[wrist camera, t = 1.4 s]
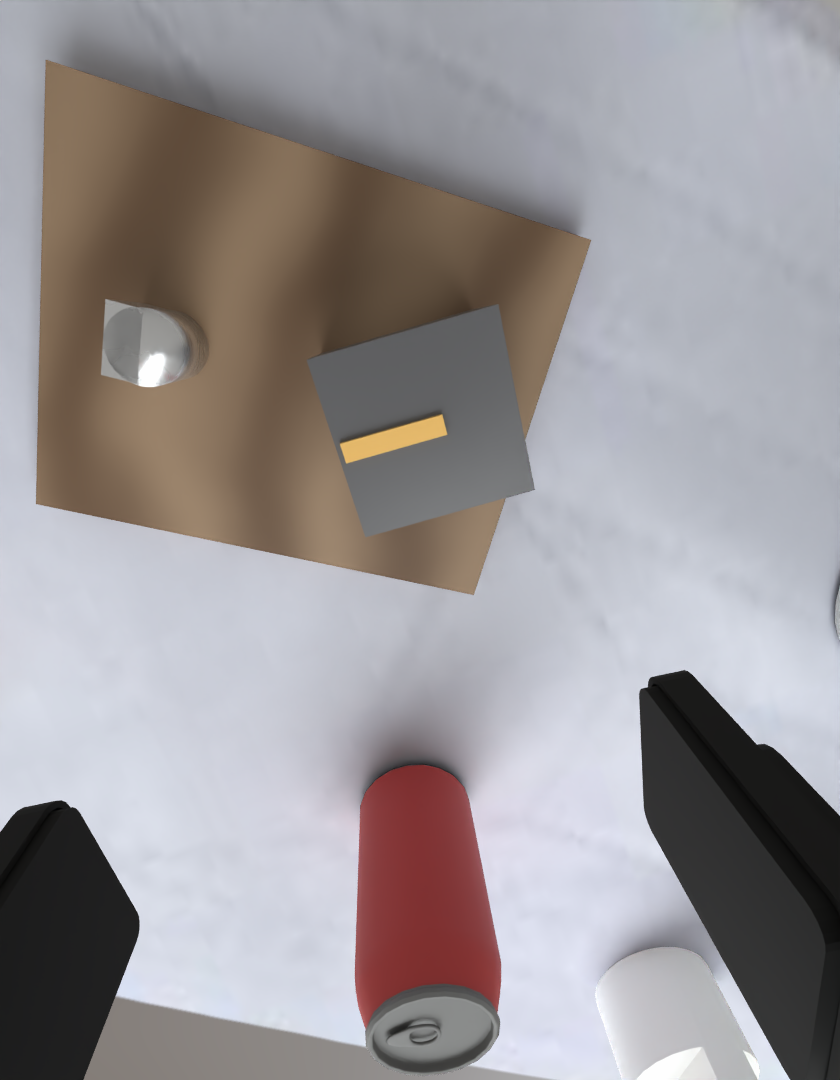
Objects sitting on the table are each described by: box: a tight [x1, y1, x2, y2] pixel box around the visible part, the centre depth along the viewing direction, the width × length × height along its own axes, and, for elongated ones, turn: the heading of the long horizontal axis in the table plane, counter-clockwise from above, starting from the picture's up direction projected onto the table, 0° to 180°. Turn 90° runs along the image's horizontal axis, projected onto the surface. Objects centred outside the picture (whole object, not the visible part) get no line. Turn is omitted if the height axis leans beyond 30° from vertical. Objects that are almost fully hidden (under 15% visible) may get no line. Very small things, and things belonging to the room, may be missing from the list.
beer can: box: [355, 765, 501, 1076], centre depth 28 cm, size 7×7×12 cm
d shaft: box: [101, 299, 209, 387], centre depth 20 cm, size 3×3×3 cm
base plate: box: [36, 60, 591, 595], centre depth 23 cm, size 20×16×2 cm
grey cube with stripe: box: [307, 304, 535, 537], centre depth 21 cm, size 6×6×5 cm
